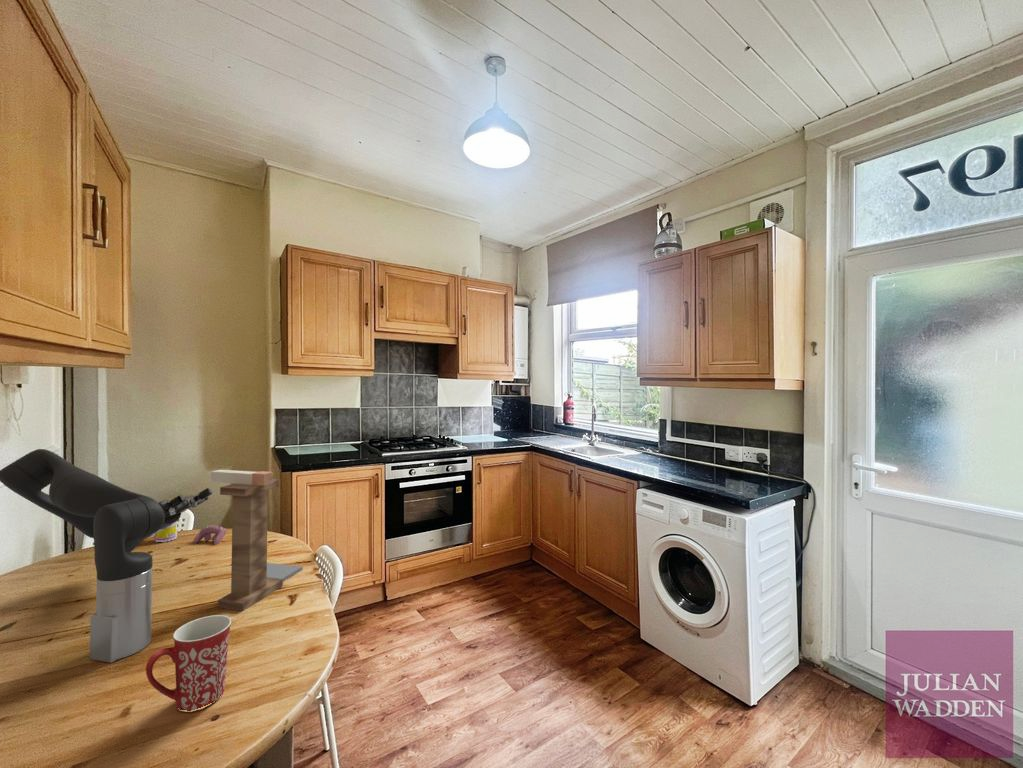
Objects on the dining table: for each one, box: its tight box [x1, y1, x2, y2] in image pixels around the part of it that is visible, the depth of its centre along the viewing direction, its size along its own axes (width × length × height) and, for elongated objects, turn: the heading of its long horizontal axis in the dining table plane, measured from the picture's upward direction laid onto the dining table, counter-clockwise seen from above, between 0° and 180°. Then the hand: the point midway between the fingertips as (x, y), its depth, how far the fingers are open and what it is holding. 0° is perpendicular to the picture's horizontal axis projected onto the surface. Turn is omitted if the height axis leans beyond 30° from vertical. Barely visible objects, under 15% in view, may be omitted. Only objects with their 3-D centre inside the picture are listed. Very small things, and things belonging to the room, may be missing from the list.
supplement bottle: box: [154, 521, 178, 543], centre depth 159 cm, size 7×7×13 cm
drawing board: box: [267, 562, 304, 582], centre depth 131 cm, size 9×16×1 cm, turn 78°
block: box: [210, 469, 274, 486], centre depth 118 cm, size 3×18×3 cm, turn 78°
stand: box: [217, 478, 284, 612], centre depth 117 cm, size 14×9×32 cm, turn 168°
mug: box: [145, 614, 232, 711], centre depth 77 cm, size 13×9×14 cm
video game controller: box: [192, 524, 227, 545], centre depth 158 cm, size 10×5×7 cm, turn 84°
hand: (196, 494), depth 121 cm, fingers open, 8 cm apart
